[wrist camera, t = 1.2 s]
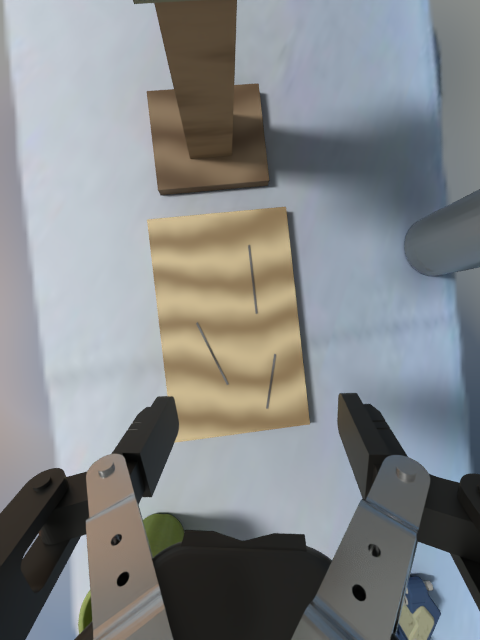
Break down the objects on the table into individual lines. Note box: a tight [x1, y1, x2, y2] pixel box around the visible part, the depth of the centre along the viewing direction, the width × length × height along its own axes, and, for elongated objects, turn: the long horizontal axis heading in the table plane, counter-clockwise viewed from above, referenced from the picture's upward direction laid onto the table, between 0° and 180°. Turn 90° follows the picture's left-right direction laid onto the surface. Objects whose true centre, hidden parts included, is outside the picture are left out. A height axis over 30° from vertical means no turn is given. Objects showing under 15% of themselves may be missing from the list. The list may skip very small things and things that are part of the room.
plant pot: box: [78, 514, 184, 634], centre depth 34 cm, size 12×12×11 cm
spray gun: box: [396, 576, 441, 640], centre depth 40 cm, size 21×4×15 cm
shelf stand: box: [147, 0, 269, 195], centre depth 23 cm, size 14×16×32 cm
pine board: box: [147, 207, 310, 442], centre depth 39 cm, size 32×20×2 cm, turn 6°
